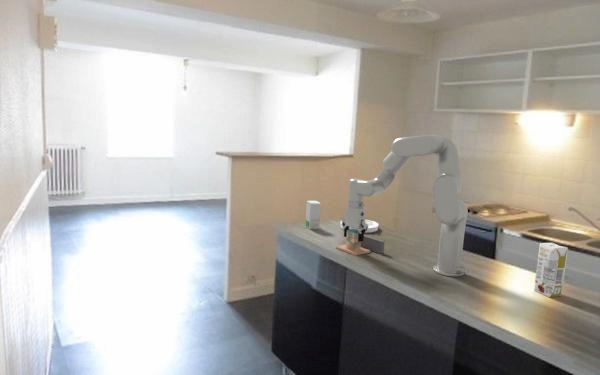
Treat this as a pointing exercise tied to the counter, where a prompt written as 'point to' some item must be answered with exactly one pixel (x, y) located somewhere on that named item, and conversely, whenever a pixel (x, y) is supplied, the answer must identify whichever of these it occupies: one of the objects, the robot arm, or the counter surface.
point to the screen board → (373, 244)
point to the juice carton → (550, 269)
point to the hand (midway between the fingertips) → (353, 238)
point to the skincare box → (313, 214)
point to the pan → (371, 226)
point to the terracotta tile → (353, 252)
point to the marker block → (352, 240)
